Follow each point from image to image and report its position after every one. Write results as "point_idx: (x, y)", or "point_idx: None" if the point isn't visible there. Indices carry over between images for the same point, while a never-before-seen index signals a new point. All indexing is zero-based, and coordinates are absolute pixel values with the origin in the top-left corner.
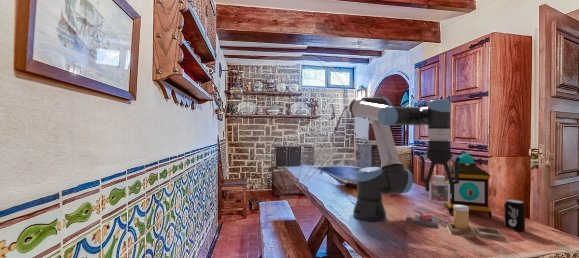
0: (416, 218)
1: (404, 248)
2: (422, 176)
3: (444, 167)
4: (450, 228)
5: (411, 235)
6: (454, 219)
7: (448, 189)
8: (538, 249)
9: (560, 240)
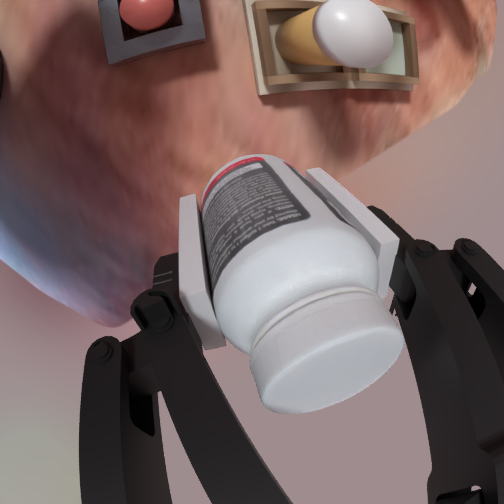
0: (108, 33)
1: (150, 280)
2: (141, 426)
3: (444, 463)
4: (266, 73)
5: (127, 170)
6: (295, 45)
7: None
8: (450, 92)
9: (485, 24)
